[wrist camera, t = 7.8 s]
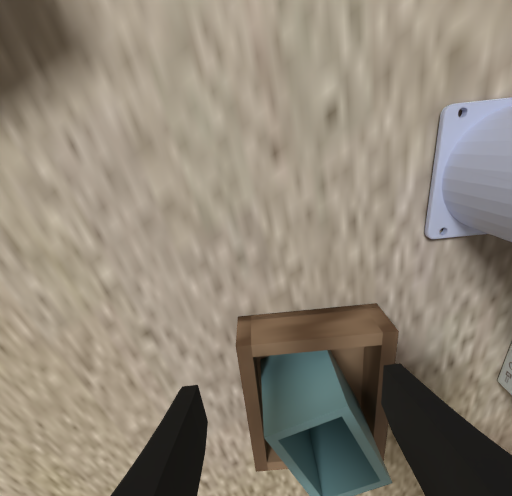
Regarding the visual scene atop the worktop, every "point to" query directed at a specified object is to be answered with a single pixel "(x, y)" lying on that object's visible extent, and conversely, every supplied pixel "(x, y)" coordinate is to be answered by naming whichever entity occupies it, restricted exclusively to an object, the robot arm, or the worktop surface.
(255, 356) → the walnut crate
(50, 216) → the worktop surface
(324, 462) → the teal crate
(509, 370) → the supplement box
